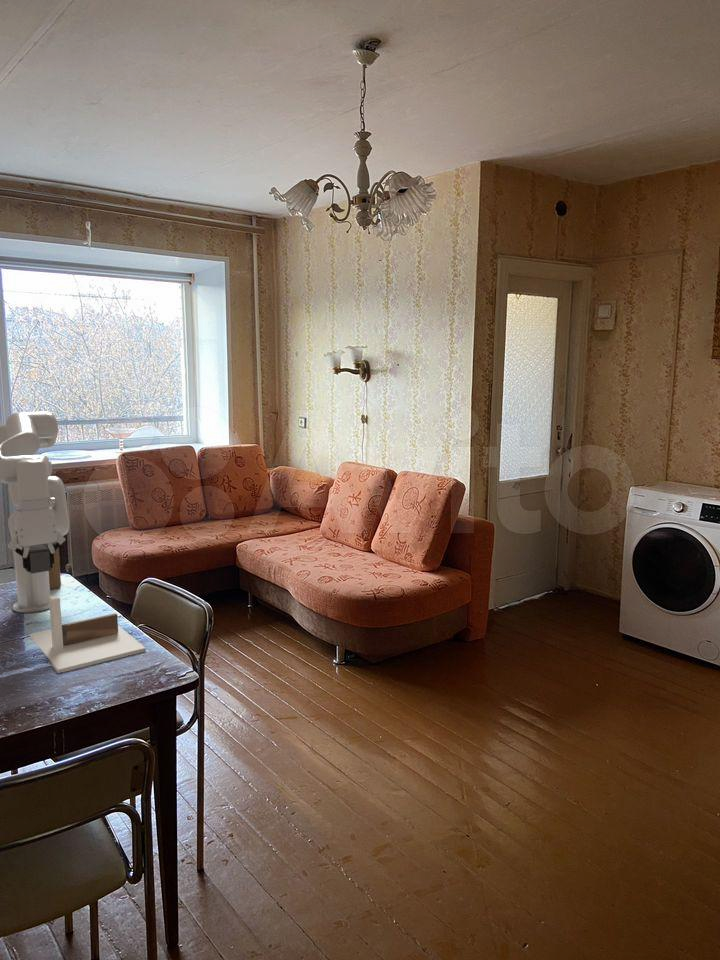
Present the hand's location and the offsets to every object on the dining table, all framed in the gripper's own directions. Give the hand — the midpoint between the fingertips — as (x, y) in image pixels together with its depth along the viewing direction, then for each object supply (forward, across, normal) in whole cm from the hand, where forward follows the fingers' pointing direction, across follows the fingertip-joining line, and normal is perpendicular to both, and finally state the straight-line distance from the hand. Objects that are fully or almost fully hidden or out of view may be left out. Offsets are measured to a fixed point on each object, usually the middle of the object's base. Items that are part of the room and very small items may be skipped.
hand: (39, 568), depth 194 cm
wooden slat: (+20, -10, +10) cm, 24 cm away
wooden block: (+22, -13, -52) cm, 57 cm away
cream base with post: (+21, -8, +10) cm, 25 cm away
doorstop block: (+1, 0, -2) cm, 2 cm away
